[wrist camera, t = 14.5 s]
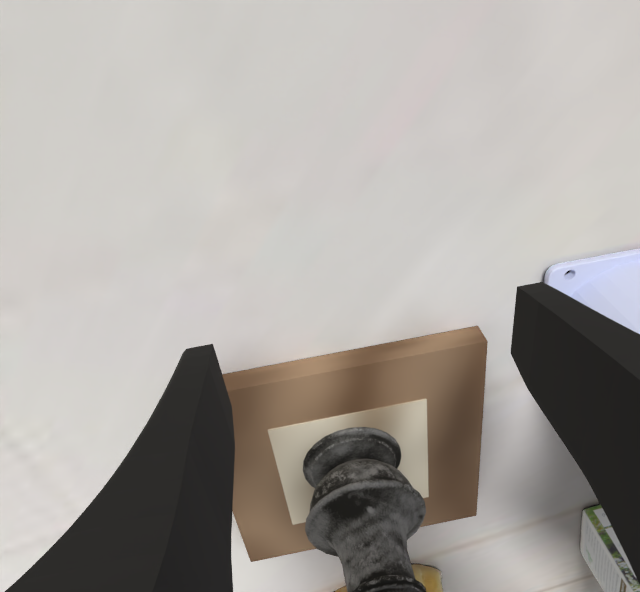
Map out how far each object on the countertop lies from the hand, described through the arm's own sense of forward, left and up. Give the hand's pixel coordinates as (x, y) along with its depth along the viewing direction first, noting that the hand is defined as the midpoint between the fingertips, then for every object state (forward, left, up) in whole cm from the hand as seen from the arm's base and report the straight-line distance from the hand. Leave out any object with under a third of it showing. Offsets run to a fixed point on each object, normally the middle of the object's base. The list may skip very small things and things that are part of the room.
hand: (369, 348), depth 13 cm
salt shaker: (0, +16, -9) cm, 18 cm away
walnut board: (0, +16, -10) cm, 19 cm away
